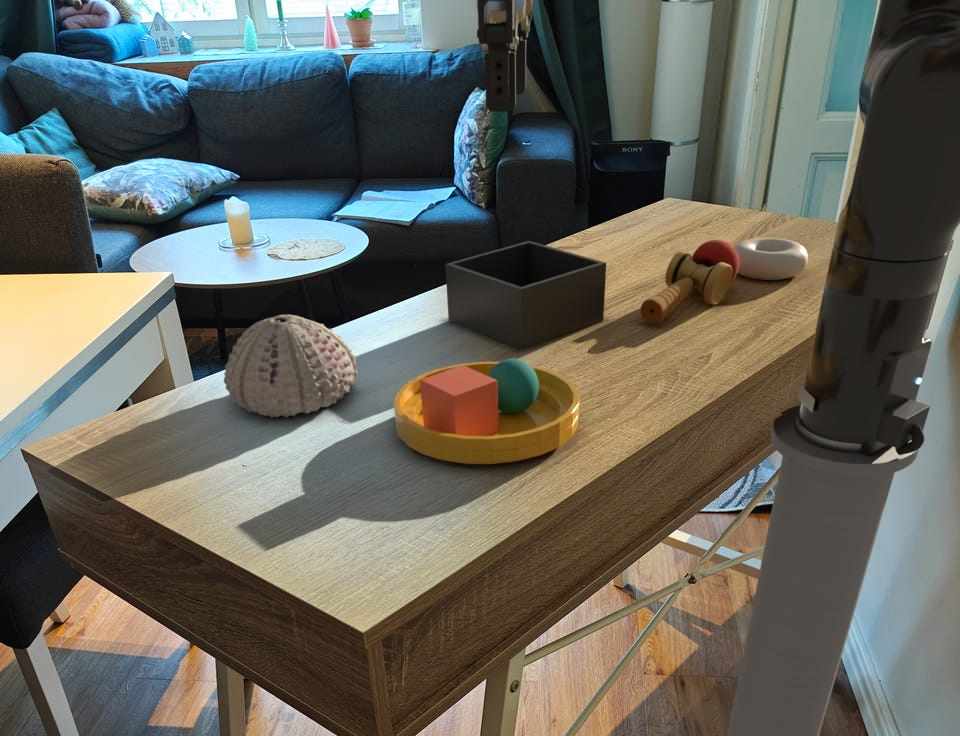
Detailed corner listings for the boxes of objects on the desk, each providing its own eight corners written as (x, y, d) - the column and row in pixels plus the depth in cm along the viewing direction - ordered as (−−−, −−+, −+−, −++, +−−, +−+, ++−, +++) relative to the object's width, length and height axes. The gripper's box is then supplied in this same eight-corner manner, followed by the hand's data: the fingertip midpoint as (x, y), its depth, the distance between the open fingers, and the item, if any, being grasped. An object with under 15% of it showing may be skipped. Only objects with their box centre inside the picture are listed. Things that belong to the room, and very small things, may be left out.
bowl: (616, 428, 84) (618, 397, 82) (475, 490, 75) (473, 458, 74) (497, 376, 94) (496, 348, 92) (361, 425, 86) (358, 396, 84)
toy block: (498, 431, 83) (497, 380, 79) (456, 449, 80) (453, 396, 77) (464, 415, 86) (462, 364, 83) (423, 431, 83) (419, 379, 80)
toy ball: (549, 411, 86) (550, 360, 83) (510, 427, 83) (509, 375, 80) (514, 395, 89) (514, 346, 86) (476, 410, 86) (474, 360, 83)
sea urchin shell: (386, 394, 91) (377, 316, 86) (276, 439, 84) (260, 356, 79) (309, 362, 99) (298, 288, 94) (202, 400, 92) (184, 322, 87)
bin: (603, 320, 106) (606, 262, 102) (521, 349, 100) (520, 289, 96) (529, 295, 114) (529, 240, 110) (448, 320, 108) (445, 263, 104)
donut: (731, 259, 123) (723, 280, 116) (735, 233, 121) (727, 252, 114) (807, 264, 121) (803, 285, 113) (812, 237, 119) (809, 257, 111)
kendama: (686, 342, 103) (756, 279, 112) (679, 288, 99) (753, 227, 108) (629, 340, 108) (701, 280, 117) (620, 289, 104) (695, 230, 113)
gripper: (552, -186, 55) (548, 117, 65) (565, -169, 66) (559, 88, 76) (431, -180, 56) (446, 118, 66) (464, -164, 67) (472, 89, 77)
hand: (507, 101), depth 71 cm, fingers open, 8 cm apart
